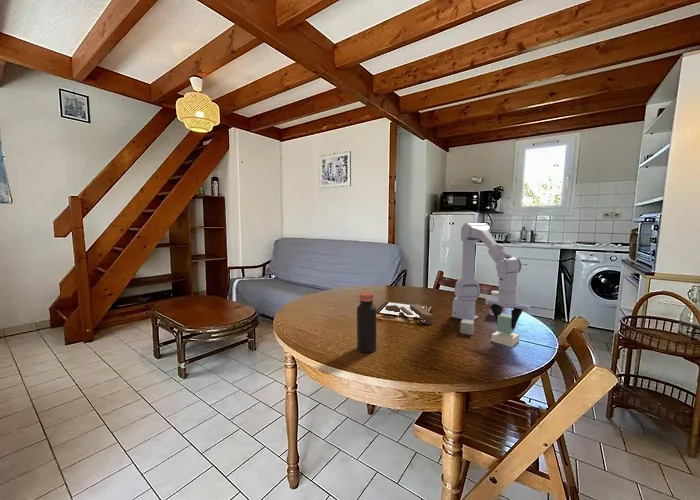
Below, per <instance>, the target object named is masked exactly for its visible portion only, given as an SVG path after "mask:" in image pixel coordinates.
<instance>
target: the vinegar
mask: <svg viewBox="0 0 700 500" xmlns="http://www.w3.org/2000/svg"><path fill="white" fill-rule="evenodd" d="M374 296H375V295H374V293H373V292H367V291H364V292H360V293H359V302H360V304H358V305H357V307H356V337H357V338H356V342H357V343H356V348H357V351H358V352H360V351H361V352H360V353H362V352H365V353H364V354H372V353H374V352H376V351H377V307H376V306H375V305H374V298H375V297H374ZM371 352H372V353H371Z"/></svg>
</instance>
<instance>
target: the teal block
mask: <svg viewBox="0 0 700 500" xmlns="http://www.w3.org/2000/svg"><path fill="white" fill-rule="evenodd" d="M496 331H497V332H501V333H505V334H509V335H510V334H512V333H515V329H512V315H511V314H509V313H505V312H503V313H501V314H499V315H498V317H497V323H496Z"/></svg>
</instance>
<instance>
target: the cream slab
mask: <svg viewBox="0 0 700 500" xmlns="http://www.w3.org/2000/svg"><path fill="white" fill-rule="evenodd" d="M491 342H494V343H496V344H499V345H500V344H501V345H504V346H506V347H507V346H508V347H510V348H513V347H514V346H515V345H516V344H518V343H519V342H520V334H519V333H515V332H513V333H512V334H510V335H509V334H505V333H501V332H497V330H496V331H495V332H493V333H492V334H491Z"/></svg>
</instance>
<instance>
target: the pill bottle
mask: <svg viewBox="0 0 700 500" xmlns="http://www.w3.org/2000/svg"><path fill="white" fill-rule="evenodd" d="M498 293H499V290H491V292H490V296H489V297H488V298H489V299H498ZM488 305H489V306H488V314H489V315H490V316H493V317H495V316H494V313H493V311H492V310H491V307H492V305H491V304H488ZM504 308H505V307H502V312H501V313H505V312H504Z"/></svg>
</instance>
